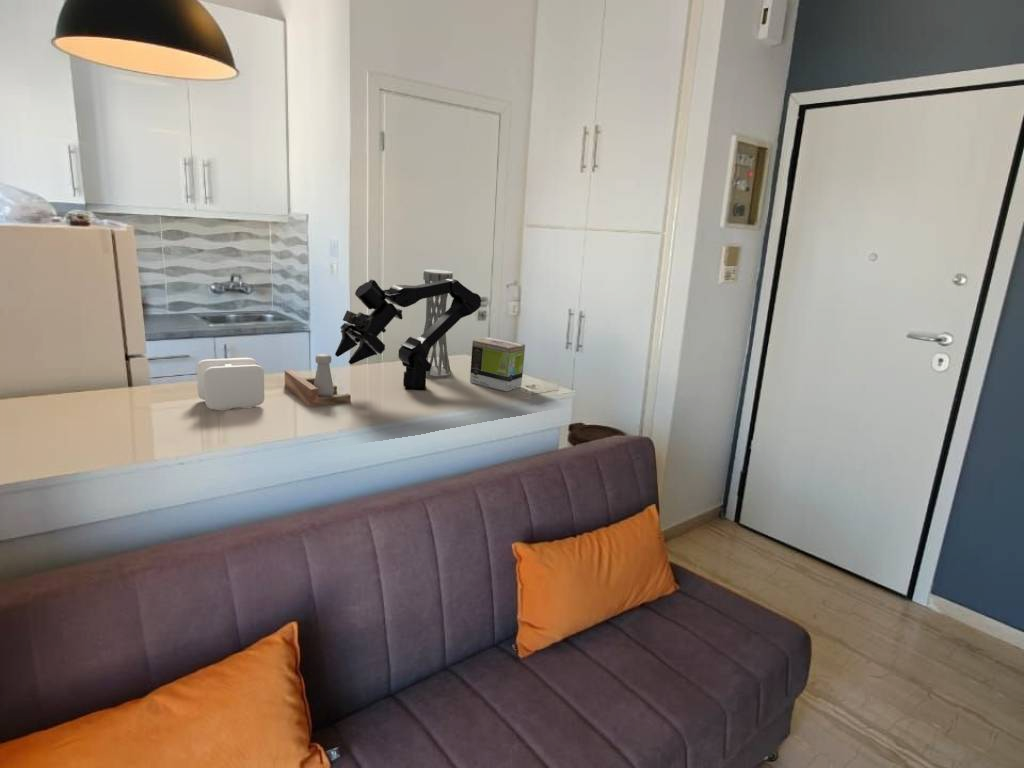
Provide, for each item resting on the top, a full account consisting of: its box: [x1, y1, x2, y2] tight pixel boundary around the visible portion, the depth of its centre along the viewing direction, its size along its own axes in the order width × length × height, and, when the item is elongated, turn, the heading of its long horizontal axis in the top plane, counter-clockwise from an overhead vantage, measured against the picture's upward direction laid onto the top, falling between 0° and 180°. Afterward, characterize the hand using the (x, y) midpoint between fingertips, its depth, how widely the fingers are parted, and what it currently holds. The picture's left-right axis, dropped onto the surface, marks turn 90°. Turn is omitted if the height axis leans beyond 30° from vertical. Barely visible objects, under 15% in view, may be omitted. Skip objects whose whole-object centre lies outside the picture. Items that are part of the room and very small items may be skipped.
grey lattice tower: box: [422, 268, 454, 380], centre depth 208 cm, size 14×13×35 cm
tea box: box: [469, 336, 526, 392], centre depth 204 cm, size 15×10×15 cm
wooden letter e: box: [284, 369, 351, 408], centre depth 179 cm, size 12×20×5 cm, turn 39°
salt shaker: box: [314, 353, 335, 397], centre depth 174 cm, size 6×6×13 cm
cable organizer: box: [196, 357, 265, 411], centre depth 164 cm, size 15×11×12 cm
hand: (342, 359), depth 176 cm, fingers open, 9 cm apart
